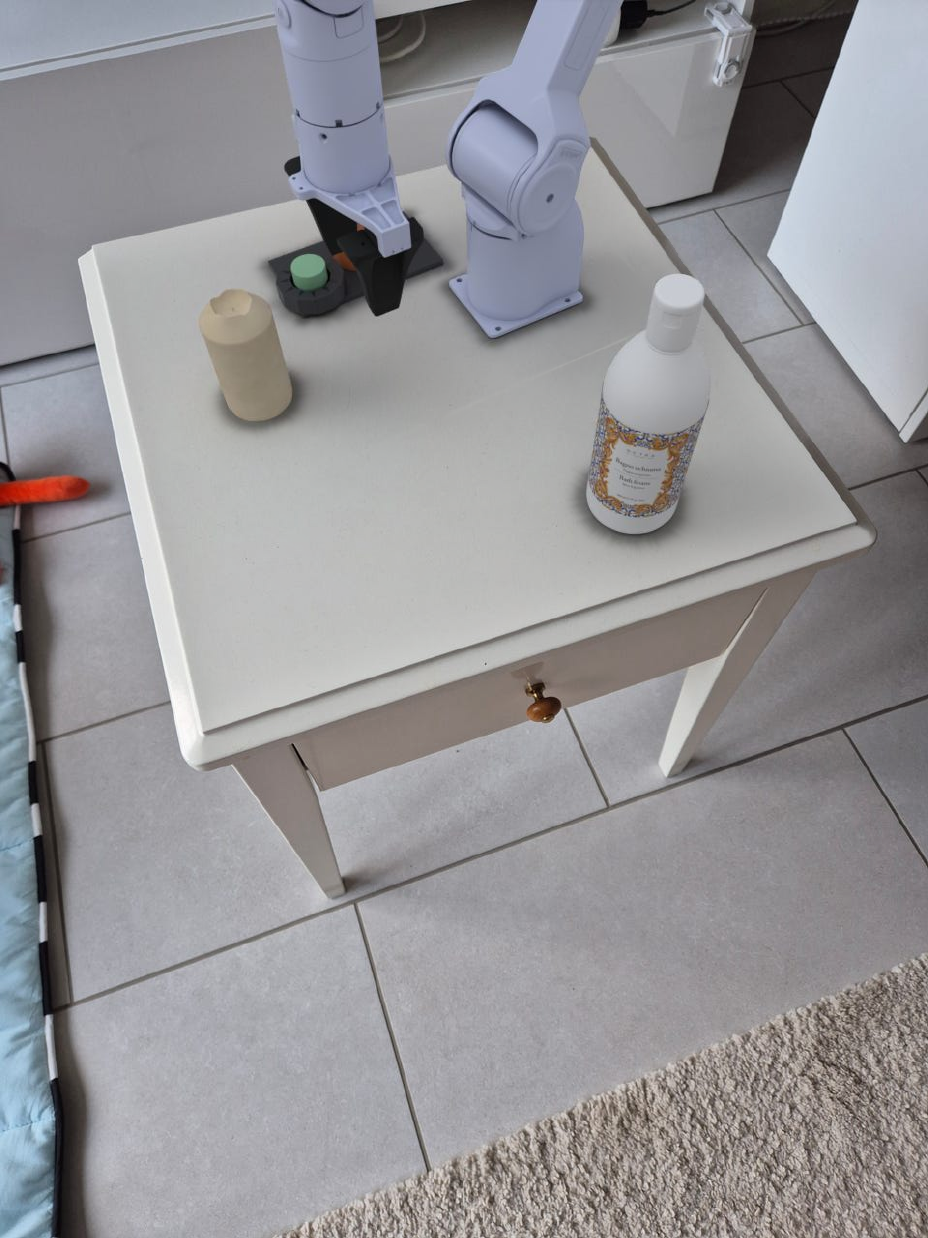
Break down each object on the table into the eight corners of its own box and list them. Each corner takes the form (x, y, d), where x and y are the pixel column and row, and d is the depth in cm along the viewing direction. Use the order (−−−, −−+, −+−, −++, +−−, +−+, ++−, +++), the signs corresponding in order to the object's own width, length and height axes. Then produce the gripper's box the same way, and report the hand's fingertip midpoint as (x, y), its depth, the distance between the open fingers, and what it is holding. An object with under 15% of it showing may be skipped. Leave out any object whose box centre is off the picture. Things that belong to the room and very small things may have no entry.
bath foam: (575, 524, 68) (606, 318, 50) (596, 455, 71) (633, 239, 54) (666, 547, 67) (730, 343, 49) (683, 475, 70) (749, 261, 53)
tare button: (319, 263, 80) (316, 249, 79) (333, 284, 79) (330, 269, 77) (288, 275, 79) (284, 260, 78) (301, 296, 78) (298, 281, 77)
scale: (404, 215, 86) (402, 195, 84) (447, 270, 82) (446, 249, 80) (259, 269, 83) (253, 249, 81) (297, 328, 79) (292, 308, 77)
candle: (282, 426, 73) (254, 333, 65) (218, 417, 74) (182, 323, 65) (301, 377, 76) (277, 280, 67) (239, 368, 77) (207, 272, 68)
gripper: (235, 62, 58) (277, 240, 70) (327, 184, 52) (356, 358, 64) (333, 31, 60) (358, 211, 72) (434, 146, 54) (444, 323, 65)
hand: (363, 278), depth 68 cm, fingers open, 7 cm apart
